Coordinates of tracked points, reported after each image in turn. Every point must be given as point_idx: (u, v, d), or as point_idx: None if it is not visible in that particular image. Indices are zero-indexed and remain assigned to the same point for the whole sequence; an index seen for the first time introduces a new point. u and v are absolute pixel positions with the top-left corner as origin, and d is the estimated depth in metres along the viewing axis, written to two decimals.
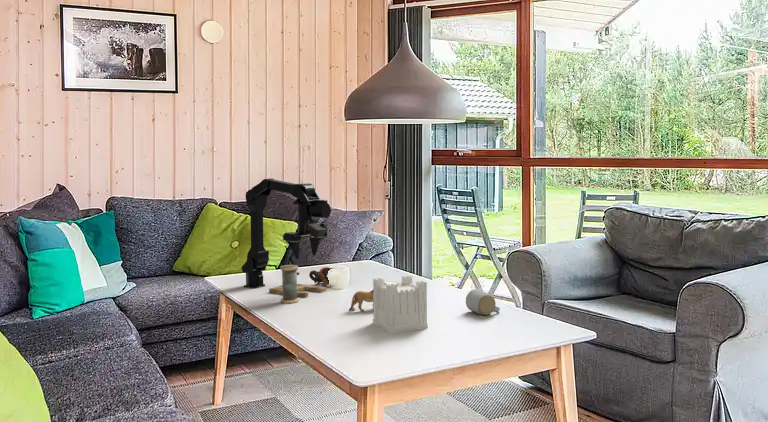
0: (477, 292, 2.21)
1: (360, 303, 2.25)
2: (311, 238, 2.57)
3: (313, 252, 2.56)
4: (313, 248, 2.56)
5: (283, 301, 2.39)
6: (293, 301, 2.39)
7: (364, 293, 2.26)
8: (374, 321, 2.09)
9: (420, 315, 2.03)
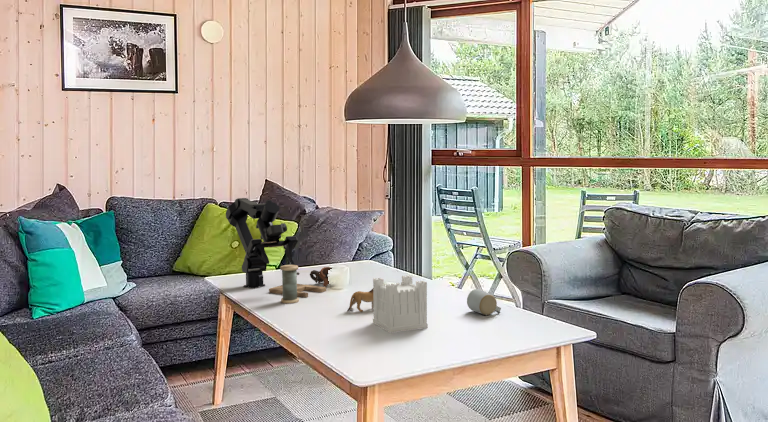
0: (478, 292, 2.21)
1: (359, 303, 2.25)
2: (285, 250, 2.54)
3: (289, 258, 2.50)
4: (288, 255, 2.51)
5: (283, 301, 2.39)
6: (293, 301, 2.39)
7: (362, 293, 2.26)
8: (374, 321, 2.09)
9: (420, 315, 2.03)
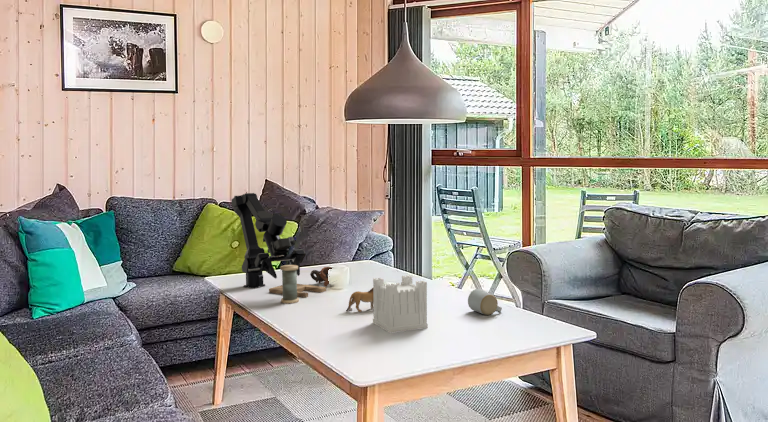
0: (479, 292, 2.21)
1: (357, 303, 2.25)
2: (293, 264, 2.49)
3: (297, 272, 2.45)
4: None
5: (283, 301, 2.39)
6: (293, 301, 2.39)
7: (361, 293, 2.25)
8: (374, 321, 2.09)
9: (420, 315, 2.03)
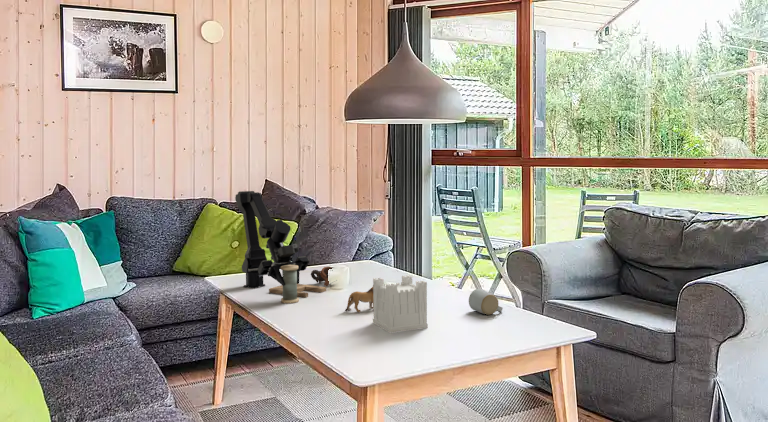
0: (480, 292, 2.21)
1: (356, 303, 2.25)
2: None
3: None
4: None
5: (283, 301, 2.39)
6: (293, 301, 2.39)
7: (360, 293, 2.25)
8: (374, 321, 2.09)
9: (420, 315, 2.03)
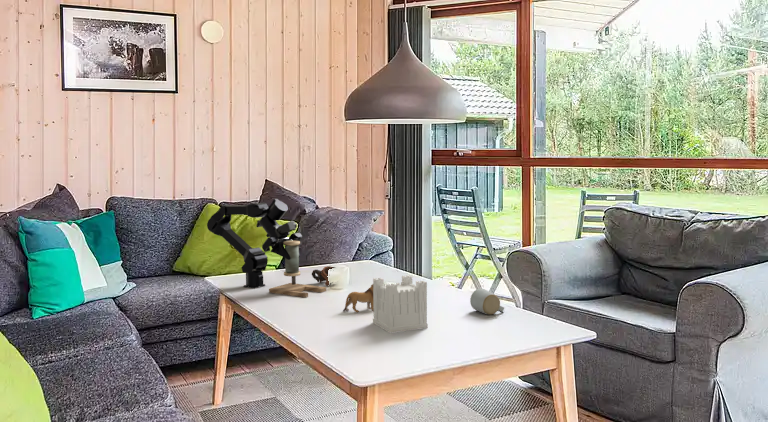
0: (482, 291, 2.22)
1: (354, 304, 2.24)
2: None
3: None
4: None
5: (288, 274, 2.55)
6: (298, 274, 2.56)
7: (358, 294, 2.25)
8: (374, 321, 2.09)
9: (420, 315, 2.03)
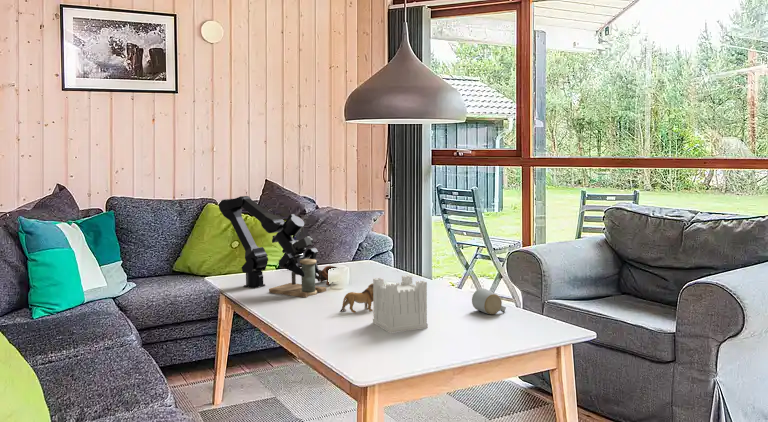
0: (483, 291, 2.22)
1: (351, 304, 2.24)
2: None
3: (316, 270, 2.57)
4: None
5: None
6: (314, 293, 2.53)
7: (355, 294, 2.24)
8: (374, 321, 2.09)
9: (420, 315, 2.03)
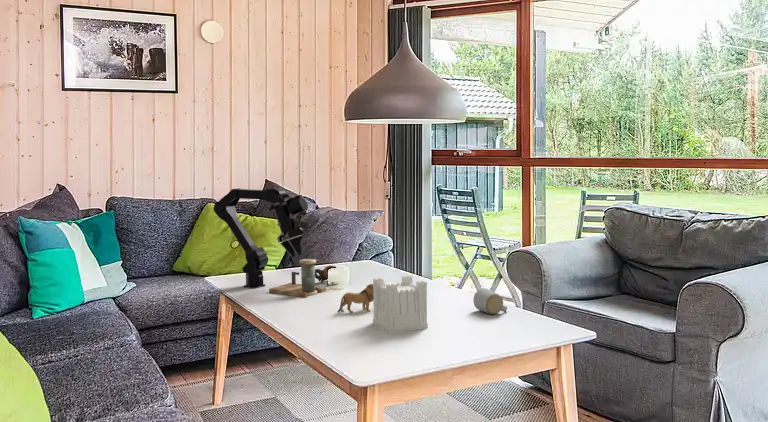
0: (485, 291, 2.22)
1: (349, 304, 2.23)
2: (284, 243, 2.65)
3: (292, 254, 2.65)
4: (290, 250, 2.66)
5: None
6: (314, 293, 2.53)
7: (353, 294, 2.24)
8: (374, 321, 2.09)
9: (420, 315, 2.03)
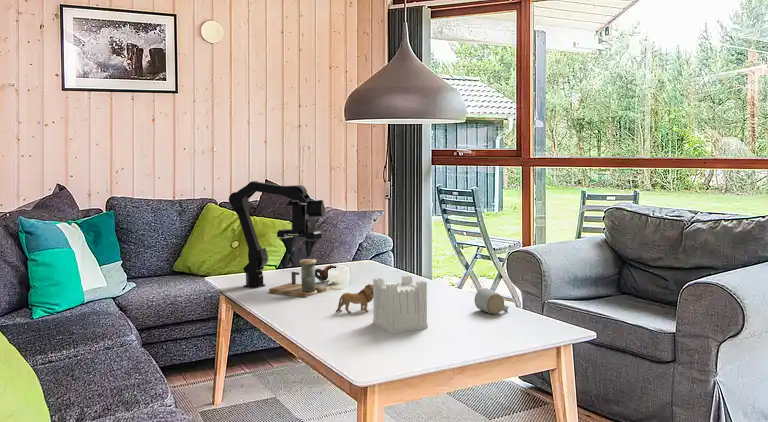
0: (486, 291, 2.22)
1: (347, 305, 2.23)
2: (286, 239, 2.65)
3: (290, 252, 2.66)
4: (289, 248, 2.66)
5: None
6: (314, 293, 2.53)
7: (351, 295, 2.23)
8: (374, 321, 2.09)
9: (420, 315, 2.03)
